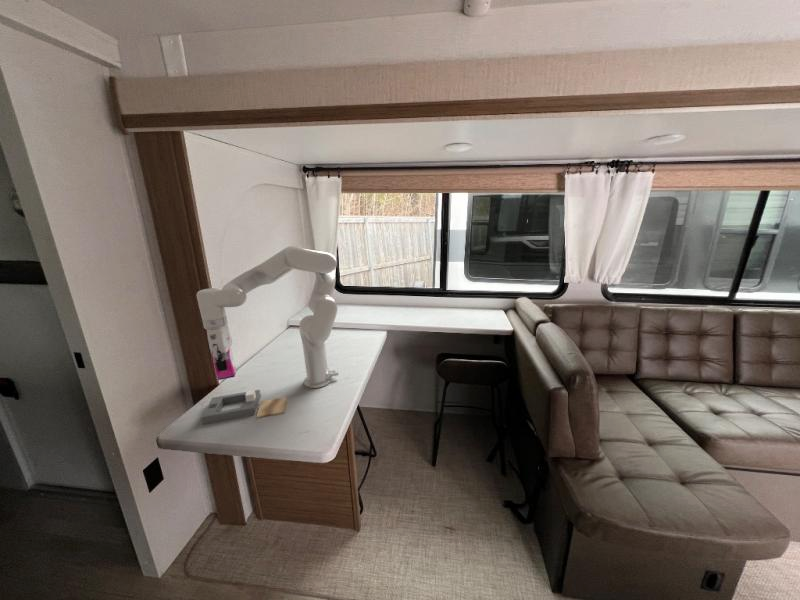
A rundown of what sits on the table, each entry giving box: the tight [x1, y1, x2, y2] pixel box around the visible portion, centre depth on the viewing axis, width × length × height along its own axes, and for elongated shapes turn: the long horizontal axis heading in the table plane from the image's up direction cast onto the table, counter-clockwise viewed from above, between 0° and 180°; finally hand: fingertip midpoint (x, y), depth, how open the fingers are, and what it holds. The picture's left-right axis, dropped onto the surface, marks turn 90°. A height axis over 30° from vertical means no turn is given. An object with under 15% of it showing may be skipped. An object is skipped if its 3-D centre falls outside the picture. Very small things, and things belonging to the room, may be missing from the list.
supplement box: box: [210, 346, 238, 381], centre depth 112 cm, size 6×6×12 cm
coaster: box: [256, 397, 287, 419], centre depth 118 cm, size 10×10×1 cm
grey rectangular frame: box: [200, 389, 262, 425], centre depth 117 cm, size 18×13×6 cm
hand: (225, 365), depth 113 cm, fingers closed on supplement box, 6 cm apart
